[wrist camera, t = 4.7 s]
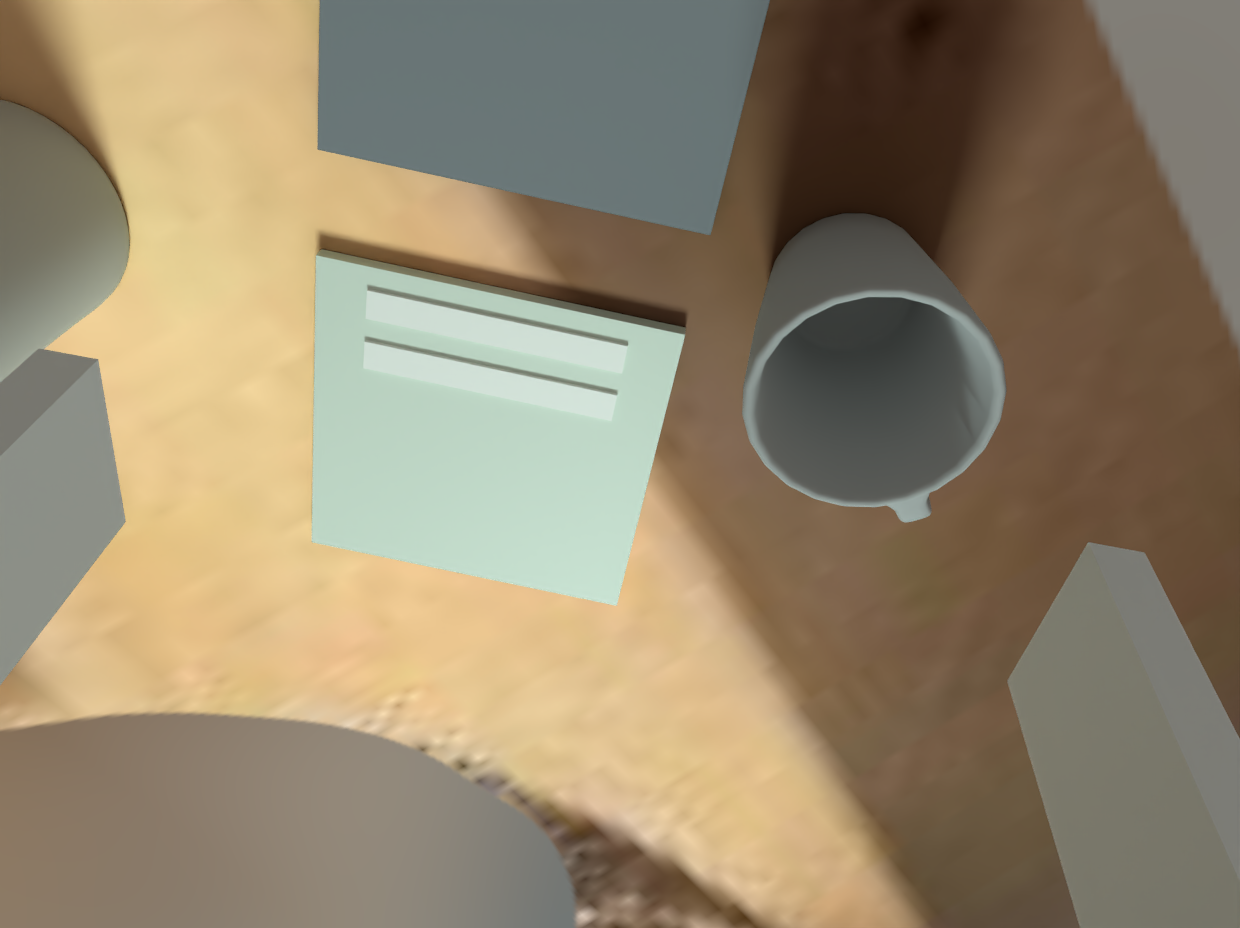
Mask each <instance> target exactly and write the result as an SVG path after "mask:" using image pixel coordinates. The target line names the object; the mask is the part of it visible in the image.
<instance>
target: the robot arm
mask: <svg viewBox="0 0 1240 928" xmlns="http://www.w3.org/2000/svg"><path fill="white" fill-rule="evenodd" d="M125 522H126V521H125V515H124V509H123V503H122V497H121V492H120V486H119V480H118V474H117V468H116V462H115V456H114V450H113V444H112V439H111V433H110V427H109V421H108V415H107V409H106V403H105V397H104V392H103V386H102V380H101V374H100V368H99V362H98V359H93V358H87V357H82V356H77V355H71V354H66V353H60V352H55V351H49V350H44V349H38V350H36V351H35V352H34V353H33V354H32V355H31V356H30V357H29V358H27V359H26V360H25V361H24V362H23V363H22V364H21V365H20V366H18V367H17V368H16V369H15V370H14V371H13V372H12V373H11V374H9V375H8V376H7V377H6V378H5V379H4V380H3V381H2V382H0V685H1V683H2V682H3V681H4V680H5V678H6V677H7V676H8V674H9V673H10V672H11V670H12V669H13V668H14V667H15V665H16V664H17V663H18V661H19V660H20V659H21V657H22V656H23V655H24V654H25V652H26V651H27V650H28V648H29V647H30V646H31V644H32V643H33V642H34V640H35V639H36V638H37V637H38V635H39V634H40V633H41V631H42V630H43V629H44V627H45V626H46V625H47V624H48V622H49V621H50V620H51V618H52V617H53V616H54V614H55V613H56V612H57V610H58V609H59V608H60V607H61V605H62V604H63V603H64V601H65V600H66V599H67V597H68V596H69V595H70V594H71V592H72V591H73V590H74V588H75V587H76V586H77V584H78V583H79V582H80V581H81V579H82V578H83V577H84V575H85V574H86V573H87V571H88V570H89V569H90V567H91V566H92V565H93V564H94V562H95V561H96V560H97V558H98V557H99V556H100V554H101V553H102V552H103V551H104V549H105V548H106V547H107V545H108V544H109V543H110V541H111V540H112V539H113V537H114V536H115V535H116V534H117V532H118V531H119V530H120V528H121V527H122V526H123V524H124V523H125ZM1007 682H1008V685H1009V689H1010V692H1011V695H1012V699H1013V702H1014V705H1015V709H1016V712H1017V716H1018V719H1019V722H1020V726H1021V729H1022V733H1023V736H1024V739H1025V743H1026V746H1027V749H1028V753H1029V756H1030V760H1031V763H1032V766H1033V770H1034V773H1035V777H1036V780H1037V783H1038V787H1039V790H1040V794H1041V797H1042V800H1043V804H1044V807H1045V810H1046V814H1047V817H1048V821H1049V824H1050V827H1051V831H1052V834H1053V838H1054V841H1055V844H1056V848H1057V851H1058V855H1059V858H1060V861H1061V865H1062V868H1063V871H1064V875H1065V878H1066V882H1067V885H1068V888H1069V892H1070V895H1071V899H1072V902H1073V905H1074V909H1075V912H1076V915H1077V919H1078V922H1079V926H1080V928H1240V739H1239V737H1238V735H1237V733H1236V731H1235V729H1234V727H1233V725H1232V723H1231V721H1230V719H1229V717H1228V715H1227V713H1226V711H1225V710H1224V708H1223V706H1222V704H1221V702H1220V700H1219V698H1218V696H1217V694H1216V692H1215V690H1214V688H1213V686H1212V684H1211V682H1210V680H1209V678H1208V676H1207V674H1206V672H1205V670H1204V668H1203V666H1202V664H1201V662H1200V660H1199V658H1198V657H1197V655H1196V653H1195V651H1194V649H1193V647H1192V645H1191V643H1190V641H1189V639H1188V637H1187V635H1186V633H1185V631H1184V629H1183V627H1182V625H1181V623H1180V621H1179V619H1178V617H1177V615H1176V613H1175V611H1174V609H1173V607H1172V606H1171V604H1170V602H1169V600H1168V598H1167V596H1166V594H1165V592H1164V590H1163V588H1162V586H1161V584H1160V582H1159V580H1158V578H1157V576H1156V574H1155V572H1154V570H1153V568H1152V566H1151V564H1150V562H1149V560H1148V558H1147V556H1146V554H1145V553H1143V552H1138V551H1133V550H1127V549H1122V548H1116V547H1111V546H1106V545H1100V544H1095V543H1089V542H1088V544H1087V545H1086V547H1085V549H1084V551H1083V552H1082V554H1081V556H1080V557H1079V559H1078V561H1077V563H1076V564H1075V566H1074V568H1073V569H1072V571H1071V573H1070V575H1069V576H1068V578H1067V580H1066V581H1065V583H1064V585H1063V587H1062V588H1061V590H1060V592H1059V593H1058V595H1057V597H1056V598H1055V600H1054V602H1053V604H1052V605H1051V607H1050V609H1049V610H1048V612H1047V614H1046V616H1045V617H1044V619H1043V621H1042V622H1041V624H1040V626H1039V628H1038V629H1037V631H1036V633H1035V634H1034V636H1033V638H1032V640H1031V641H1030V643H1029V645H1028V646H1027V648H1026V650H1025V652H1024V653H1023V655H1022V657H1021V658H1020V660H1019V662H1018V663H1017V665H1016V667H1015V669H1014V670H1013V672H1012V674H1011V675H1010V677H1009V679H1008V681H1007Z"/></svg>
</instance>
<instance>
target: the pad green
mask: <svg viewBox="0 0 1240 928" xmlns="http://www.w3.org/2000/svg"><path fill="white" fill-rule="evenodd" d="M685 331H686V328H685V327H680V326H675V325H671V324H666V323H662V322H657V321H652V320H648V319H643V318H638V317H634V316H629V315H625V314H620V313H615V312H611V311H606V310H601V309H597V308H592V307H587V306H583V305H578V304H574V303H569V302H564V301H560V300H555V299H550V298H546V297H541V296H537V295H532V294H527V293H523V292H518V291H513V290H509V289H504V288H499V287H495V286H490V285H486V284H481V283H476V282H472V281H467V280H462V279H458V278H453V277H448V276H444V275H439V274H435V273H430V272H425V271H421V270H416V269H411V268H407V267H402V266H398V265H393V264H388V263H384V262H379V261H374V260H370V259H365V258H360V257H356V256H351V255H347V254H342V253H337V252H333V251H328V250H323V249H321V250H320V251H319V253H318V254H317V255H316V292H315V360H314V427H313V494H312V542H314V543H318V544H323V545H328V546H333V547H338V548H342V549H347V550H352V551H357V552H362V553H366V554H371V555H376V556H381V557H386V558H390V559H395V560H400V561H405V562H410V563H414V564H419V565H424V566H429V567H433V568H438V569H443V570H448V571H453V572H457V573H462V574H467V575H472V576H477V577H481V578H486V579H491V580H496V581H501V582H505V583H510V584H515V585H520V586H525V587H529V588H534V589H539V590H544V591H549V592H553V593H558V594H563V595H568V596H573V597H577V598H582V599H587V600H592V601H597V602H601V603H606V604H611V605H616V606H617V602H618V598H619V594H620V590H621V586H622V582H623V578H624V574H625V570H626V566H627V562H628V558H629V555H630V551H631V547H632V543H633V539H634V535H635V531H636V527H637V523H638V519H639V515H640V511H641V507H642V503H643V499H644V495H645V491H646V487H647V483H648V479H649V476H650V472H651V468H652V464H653V460H654V456H655V452H656V448H657V444H658V440H659V436H660V432H661V428H662V424H663V420H664V416H665V412H666V408H667V404H668V400H669V396H670V393H671V389H672V385H673V381H674V377H675V373H676V369H677V365H678V361H679V357H680V353H681V349H682V345H683V341H684V337H685Z"/></svg>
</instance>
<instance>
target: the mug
mask: <svg viewBox="0 0 1240 928" xmlns="http://www.w3.org/2000/svg"><path fill="white" fill-rule="evenodd" d="M129 246H130V244H129V230H128V225H127V220H126V216H125V213H124V210H123V207H122V204H121V201H120V199H119V197H118V195H117V193H116V190H115V188H114V187H113V185H112V183H111V181H110V180H109V178H108V176H107V175H106V173H105V172H104V170H103V169H102V168H101V166H100V165H99V164H98V162H97V161H96V160H95V159H94V157H93V156H92V155H91V154H90V153H89V152H88V151H87V150H86V148H85V147H83V146H82V145H81V144H80V143H79V142H78V141H77V140H76V139H75V138H74V137H73V136H71V135H70V134H69V133H68V132H66V131H65V130H64V129H62V128H61V127H60V126H58V125H57V124H55V123H54V122H52V121H51V120H49V119H47V118H46V117H44V116H43V115H41V114H39V113H37V112H35V111H33V110H31V109H29V108H26V107H23V106H21V105H18V104H15V103H13V102H9V101H5V100H1V99H0V382H2V381H3V380H4V379H5V378H6V377H7V376H8V375H9V374H11V373H12V372H13V371H14V370H15V369H16V368H17V367H18V366H20V365H21V364H22V363H23V362H24V361H25V360H26V359H27V358H29V357H30V356H31V355H32V354H33V353H34V352H35V351H36V350H38V349H44V348H46V347H47V346H48V345H49V344H51V343H52V342H53V341H54V340H56V339H57V338H58V337H59V336H61V335H62V334H63V333H64V332H66V331H67V330H68V329H69V328H71V327H72V326H73V325H75V324H76V323H77V322H79V321H80V320H81V319H83V318H84V317H85V316H87V315H88V314H89V313H91V312H92V311H93V310H95V309H96V308H97V307H98V306H100V305H101V304H102V303H103V302H104V301H105V300H106V299H107V298H108V297H109V296H110V295H111V294H112V293H113V292H114V290H115V289H116V287H117V286H118V284H119V283H120V281H121V279H122V276H123V274H124V272H125V270H126V266H127V262H128V258H129Z"/></svg>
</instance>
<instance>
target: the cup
mask: <svg viewBox="0 0 1240 928" xmlns="http://www.w3.org/2000/svg"><path fill="white" fill-rule="evenodd" d="M1005 395H1006V382H1005V373H1004V364H1003V359H1002V357H1001V355H1000V353H999V351H998V349H997V347H996V344H995V342H994V340H993V338H992V336H991V334H990V332H989V331H988V330H987V328H986V327H985V326H984V324H983V323H982V322H981V320H980V319H979V318H978V316H977V315H976V314H975V312H974V311H973V310H972V308H971V307H970V306H969V304H968V303H967V302H966V300H965V299H964V298H963V296H962V295H961V294H960V292H959V291H958V290H957V288H956V287H955V286H954V284H953V283H952V282H951V281H950V279H949V278H948V277H947V276H946V275H945V274H944V273H943V272H942V271H941V269H940V268H939V267H938V266H937V265H936V264H935V263H934V262H933V261H932V259H931V258H930V257H929V256H928V255H927V254H926V253H925V252H924V251H923V249H922V248H921V247H920V246H919V245H918V244H917V243H916V242H915V241H914V240H913V239H912V237H911V236H910V235H909V234H908V233H907V232H906V231H905V230H904V229H903V228H901V227H899V226H898V225H896V224H894V223H892V222H891V221H889V220H887V219H885V218H881V217H877V216H874V215H870V214H866V213H843V214H839V215H835V216H831V217H827V218H823V219H821V220H819V221H817V222H815V223H813V224H811V225H809V226H807V227H805V228H803V229H802V230H801V231H800V232H799V233H798V234H796V235H795V236H794V237H793V238H792V239H791V240H790V241H789V242H787V244H786V245H785V247H784V248H783V250H782V251H781V253H780V254H779V255H778V257H777V258H776V260H775V263H774V266H773V269H772V272H771V274H770V277H769V281H768V284H767V288H766V291H765V294H764V298H763V301H762V305H761V308H760V312H759V315H758V319H757V322H756V326H755V330H754V335H753V340H752V346H751V351H750V356H749V361H748V366H747V371H746V376H745V381H744V387H743V411H742V415H743V418H744V422H745V426H746V429H747V433H748V437H749V440H750V442H751V444H752V446H753V447H754V449H755V450H756V452H757V453H758V455H759V457H760V458H761V460H762V461H763V463H764V465H765V466H767V467H768V468H769V469H770V470H771V471H772V472H773V473H774V474H776V475H777V476H778V477H779V478H780V479H781V480H782V481H783V482H785V483H786V484H787V485H788V486H790V487H792V488H794V489H796V490H798V491H800V492H802V493H804V494H806V495H808V496H810V497H812V498H814V499H817V500H821V501H825V502H829V503H833V504H837V505H841V506H856V507H879V506H884V505H887V506H889V507H890V508H892V509H893V510H895V512H896V514H897V516H898V517H899V519H900V520H901V521H903V522H912V521H915V520H919V519H922V518H925V517H927V516H929V515H930V514H931V505H930V500H929V493H930V492H932V491H935V490H937V489H939V488H940V487H942V486H943V485H944V484H946V483H947V482H949V481H950V480H952V479H953V478H955V477H956V476H958V475H959V474H961V473H962V472H964V471H965V470H966V468H967V467H968V466H969V465H970V464H971V463H972V462H973V461H974V460H975V459H976V458H977V457H978V456H979V454H980V453H981V452H982V451H983V450H984V449H985V447H986V446H987V444H988V442H989V440H990V438H991V436H992V435H993V433H994V431H995V429H996V427H997V425H998V423H999V421H1000V419H1001V414H1002V409H1003V405H1004V400H1005Z"/></svg>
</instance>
